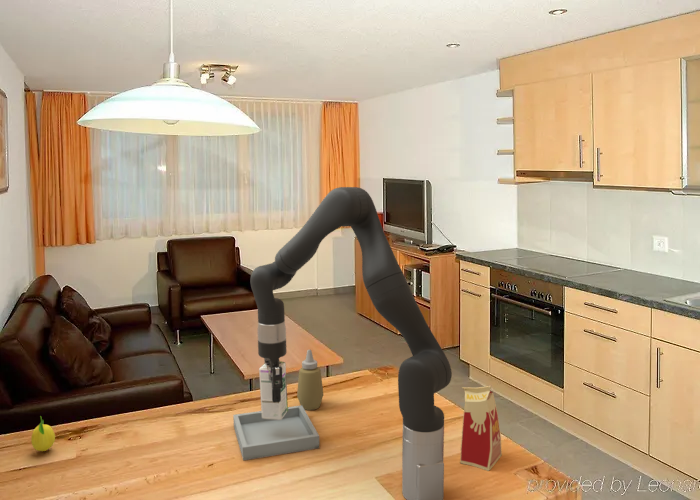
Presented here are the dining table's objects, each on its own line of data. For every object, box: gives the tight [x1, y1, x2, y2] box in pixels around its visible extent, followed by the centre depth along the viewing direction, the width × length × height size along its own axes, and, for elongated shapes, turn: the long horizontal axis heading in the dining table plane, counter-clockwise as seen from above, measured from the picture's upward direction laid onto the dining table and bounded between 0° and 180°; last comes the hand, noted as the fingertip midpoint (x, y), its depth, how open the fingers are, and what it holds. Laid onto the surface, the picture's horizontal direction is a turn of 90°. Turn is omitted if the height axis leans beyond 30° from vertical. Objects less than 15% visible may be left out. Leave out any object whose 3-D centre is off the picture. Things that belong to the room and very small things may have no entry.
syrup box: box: [258, 360, 289, 420], centre depth 163 cm, size 6×6×14 cm
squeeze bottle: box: [296, 349, 324, 411], centre depth 183 cm, size 8×8×18 cm
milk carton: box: [459, 385, 503, 472], centre depth 151 cm, size 9×9×20 cm
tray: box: [232, 405, 320, 461], centre depth 165 cm, size 20×20×4 cm
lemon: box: [30, 415, 56, 452], centre depth 157 cm, size 7×6×10 cm
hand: (273, 395), depth 163 cm, fingers closed on syrup box, 7 cm apart
